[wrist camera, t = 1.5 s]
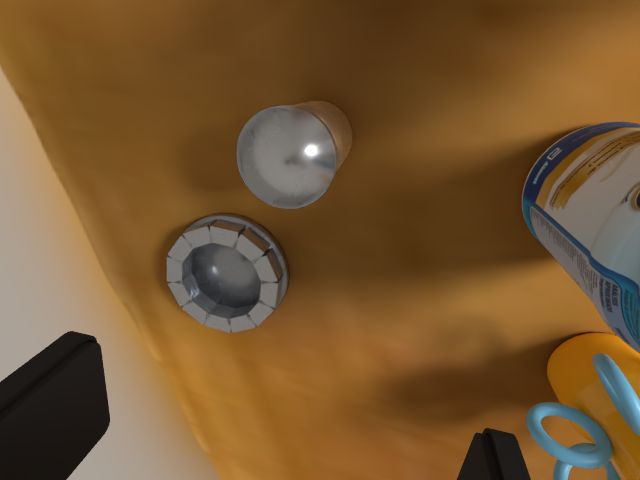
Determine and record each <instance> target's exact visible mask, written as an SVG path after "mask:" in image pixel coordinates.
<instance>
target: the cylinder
mask: <svg viewBox="0 0 640 480" xmlns="http://www.w3.org/2000/svg"><path fill="white" fill-rule="evenodd" d="M547 376H548V379H549V382H550V384H551V386H552V388H553V390H554V392H555V394H556V396H557V398H558V400H559V402H560V403H555V402H543V403H538V404H536V405H534V406H532V407H531V408H530V409H529V411H528V413H527V416H526V424H527V428H528V430H529V433H530V434H531V436H532V437H533V439H534V440H535V441H536V443H537V444H538V445H539V446H540V447H541V448H542V449H544V450H545V451H546V452H547V453H549V454H550V455H552V456H553V457H555V458H556V459H558V460H557V462H556V465H555V468H554V473H553V480H568V474H569V471H570V469H571V467H572V466H575V467H580V468H586V469H594V468H599V467H602V466H604V467H605V469H606V472H607V480H640V353H638V352H637V351H635V350H634V349H633V348H631V347H630V346H629V345H628V344H626V343H625V342H624V341H623V340H622V339H621V338H620V337H618V336H616V335H613V334H608V333H587V334H582V335H578V336H575V337H573V338H571V339H568V340H567V341H565V342H564V343H562V344H561V345H559V346H558V347H557V348H556V349H555V350H554V352H553V353H552V354H551V356H550V358H549V360H548V365H547ZM546 416H559V417H563V418H566V419H568V420H569V421H570V423H571V424H572V426H573V427H574V428H575V429H576V431H577V432H578V433H579V434H581V435H582V436H583V437H584V438H586V439H587V440H589V441H590V442H592V443H593V444H591V443H580V444H576V445H573V446H571V447H569V448H567V447H565V446H563V445H561V444H559V443H557V442H556V441H555V440H553V439H552V438H551V437H550V436H549V435H548V434H547V433H546V432H545V431H544V429H543V428H542V425H541V420H542V418H544V417H546Z"/></svg>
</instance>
